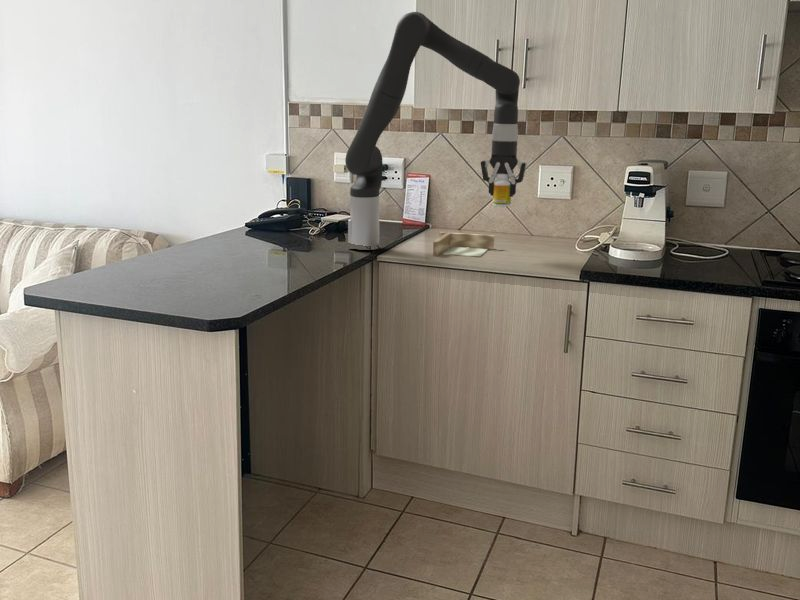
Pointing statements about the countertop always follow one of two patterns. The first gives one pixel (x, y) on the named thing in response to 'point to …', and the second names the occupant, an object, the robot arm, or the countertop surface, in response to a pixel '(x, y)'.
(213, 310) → the countertop surface
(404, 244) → the countertop surface
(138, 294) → the countertop surface
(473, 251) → the corner arena
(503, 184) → the supplement bottle
